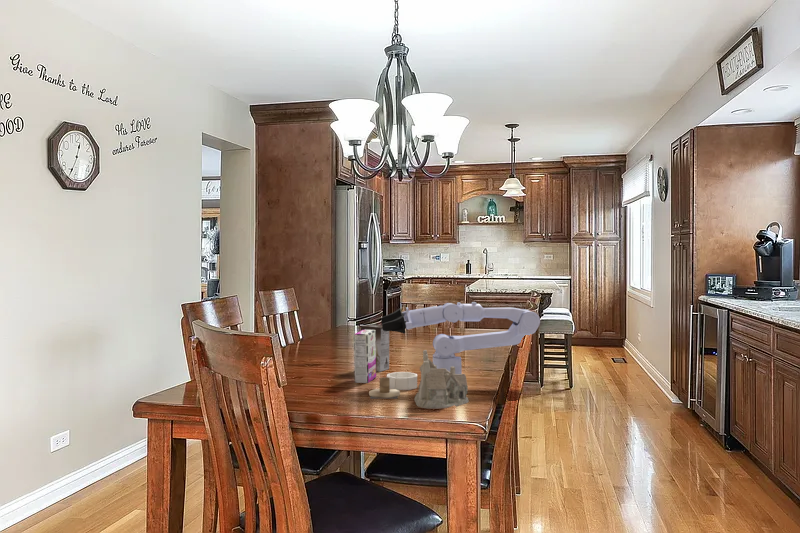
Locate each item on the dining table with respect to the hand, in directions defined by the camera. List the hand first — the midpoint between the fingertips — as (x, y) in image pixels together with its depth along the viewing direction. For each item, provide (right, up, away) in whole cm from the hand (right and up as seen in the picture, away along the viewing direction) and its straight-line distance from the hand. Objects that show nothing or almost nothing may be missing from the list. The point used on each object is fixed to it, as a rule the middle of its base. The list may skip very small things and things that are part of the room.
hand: (381, 324), depth 194 cm
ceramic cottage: (+18, -20, -24) cm, 36 cm away
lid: (+1, -20, -15) cm, 25 cm away
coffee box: (-3, -19, +27) cm, 33 cm away
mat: (+1, -20, -15) cm, 25 cm away
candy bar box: (-6, -20, +7) cm, 22 cm away
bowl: (+6, -20, -4) cm, 21 cm away
